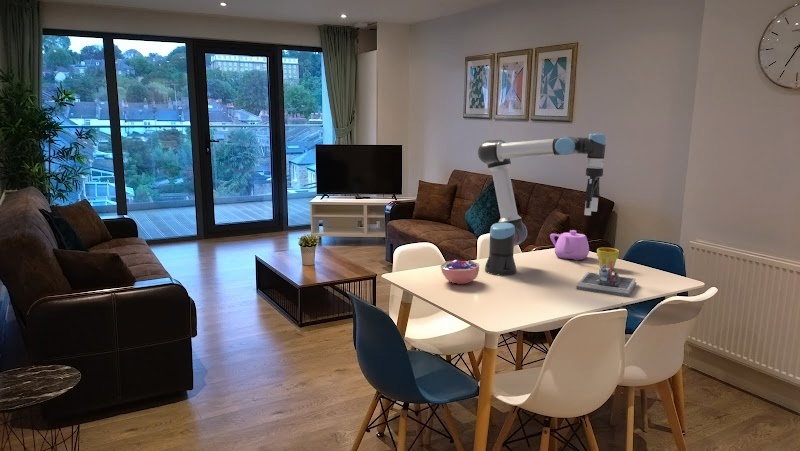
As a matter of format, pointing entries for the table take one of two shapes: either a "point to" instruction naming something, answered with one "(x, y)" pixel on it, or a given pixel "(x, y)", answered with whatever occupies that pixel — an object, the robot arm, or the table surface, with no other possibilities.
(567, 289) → the table surface
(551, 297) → the table surface
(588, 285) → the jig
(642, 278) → the table surface
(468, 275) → the cell model
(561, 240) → the teapot
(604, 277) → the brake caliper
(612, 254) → the plant pot
